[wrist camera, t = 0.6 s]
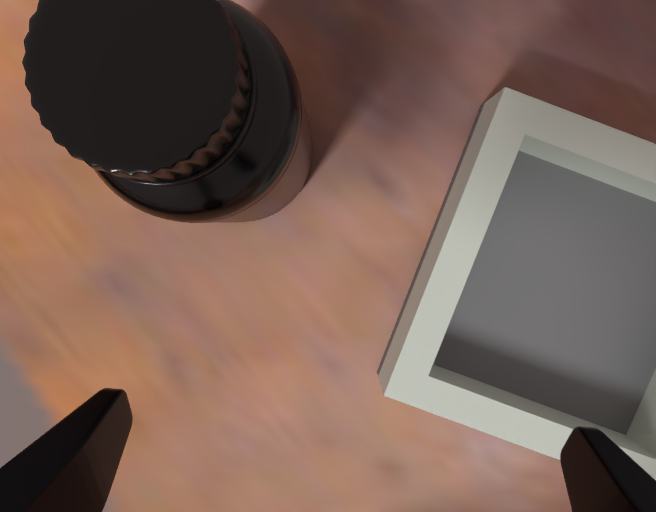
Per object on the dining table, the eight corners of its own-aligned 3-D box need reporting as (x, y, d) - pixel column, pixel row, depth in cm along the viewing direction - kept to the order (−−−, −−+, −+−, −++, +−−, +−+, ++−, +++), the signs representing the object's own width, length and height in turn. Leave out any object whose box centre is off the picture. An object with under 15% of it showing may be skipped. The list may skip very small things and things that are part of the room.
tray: (633, 466, 22) (680, 504, 19) (377, 372, 22) (383, 395, 19) (749, 207, 21) (817, 205, 18) (480, 105, 21) (504, 86, 18)
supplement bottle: (145, 158, 22) (-91, 80, 10) (235, 49, 21) (105, -176, 9) (251, 250, 22) (151, 286, 10) (342, 145, 21) (353, 48, 9)
